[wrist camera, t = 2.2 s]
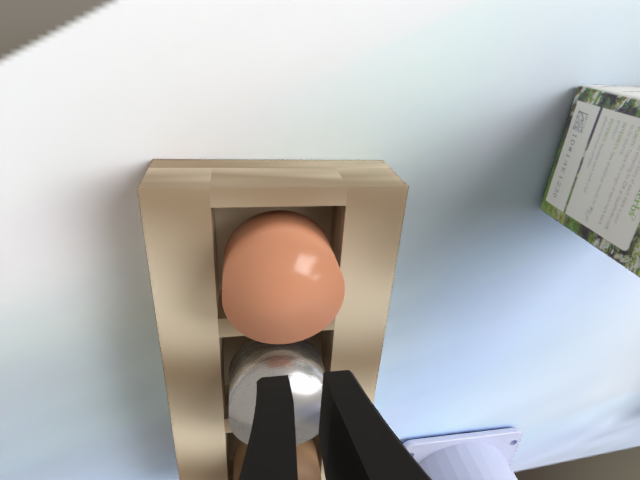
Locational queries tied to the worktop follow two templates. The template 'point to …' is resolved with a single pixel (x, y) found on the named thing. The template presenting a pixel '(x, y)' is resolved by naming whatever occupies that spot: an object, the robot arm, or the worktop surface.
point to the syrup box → (600, 172)
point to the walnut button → (305, 460)
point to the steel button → (276, 361)
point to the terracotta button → (280, 278)
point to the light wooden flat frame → (207, 273)
